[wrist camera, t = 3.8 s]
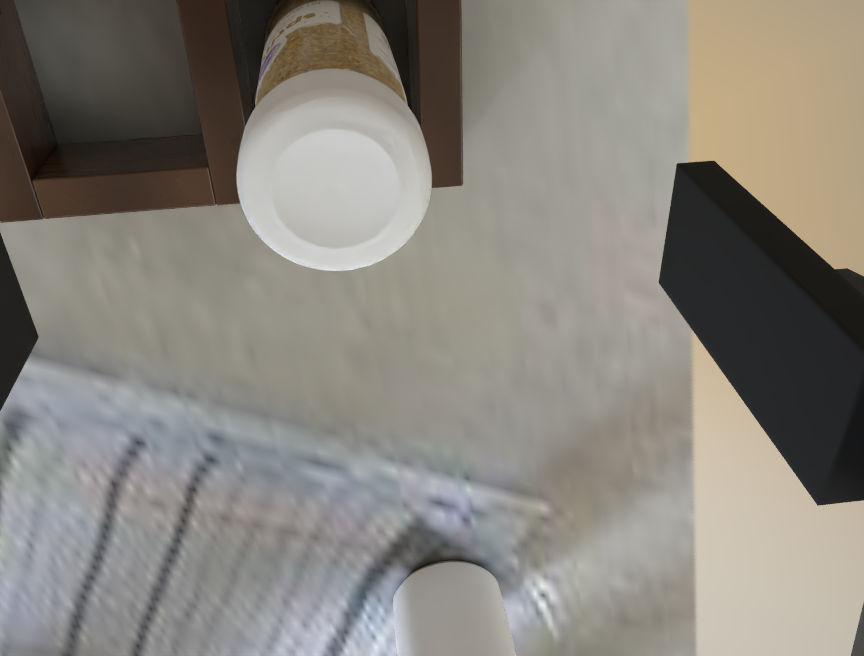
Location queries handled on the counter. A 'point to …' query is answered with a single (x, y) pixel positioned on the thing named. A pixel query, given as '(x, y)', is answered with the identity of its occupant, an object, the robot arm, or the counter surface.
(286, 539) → the counter surface
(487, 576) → the can
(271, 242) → the sprinkles bottle
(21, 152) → the holder
